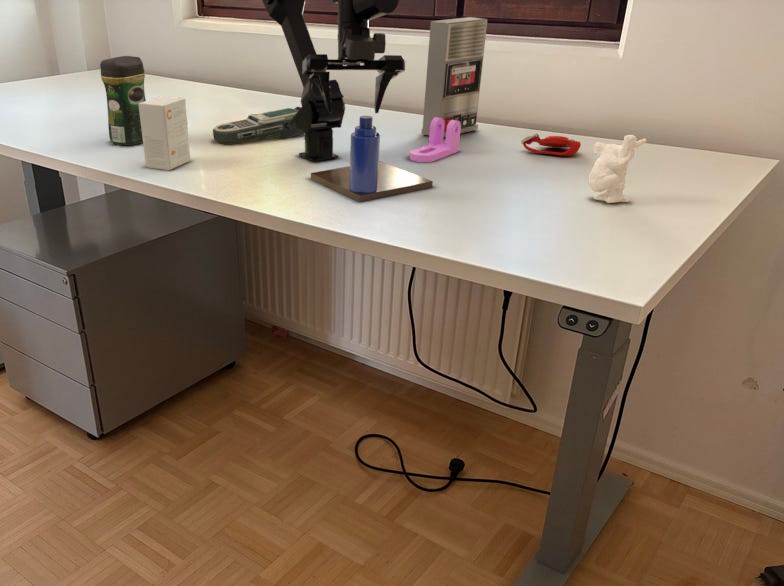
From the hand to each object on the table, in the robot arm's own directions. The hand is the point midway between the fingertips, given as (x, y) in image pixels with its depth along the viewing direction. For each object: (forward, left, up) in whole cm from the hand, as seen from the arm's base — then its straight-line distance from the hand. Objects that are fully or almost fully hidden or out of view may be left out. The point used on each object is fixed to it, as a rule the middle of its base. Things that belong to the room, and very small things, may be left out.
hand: (353, 113), depth 142 cm
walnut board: (+5, +1, -12) cm, 13 cm away
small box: (-29, -27, -13) cm, 42 cm away
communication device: (-40, +1, -13) cm, 42 cm away
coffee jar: (-52, -27, -13) cm, 60 cm away
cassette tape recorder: (-19, +42, -13) cm, 47 cm away
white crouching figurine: (+36, +32, -13) cm, 50 cm away
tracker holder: (+6, +49, -13) cm, 51 cm away
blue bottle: (+10, -5, -11) cm, 16 cm away
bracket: (-5, +25, -13) cm, 28 cm away
